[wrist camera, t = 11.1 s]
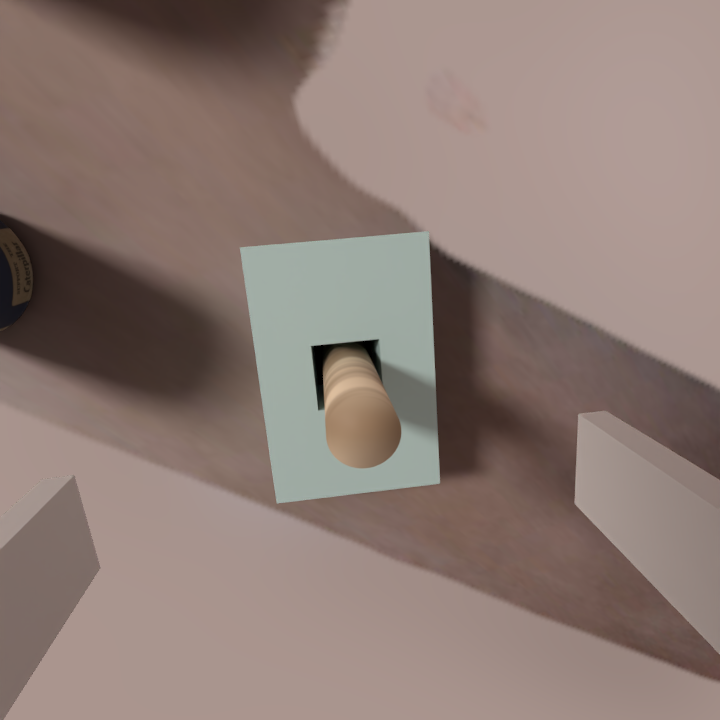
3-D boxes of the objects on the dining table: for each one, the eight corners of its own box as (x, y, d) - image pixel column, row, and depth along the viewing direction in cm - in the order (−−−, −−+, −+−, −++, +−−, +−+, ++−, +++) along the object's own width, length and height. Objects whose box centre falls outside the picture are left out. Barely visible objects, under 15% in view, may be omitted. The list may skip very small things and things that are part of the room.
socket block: (252, 246, 35) (239, 247, 29) (410, 233, 36) (428, 231, 30) (282, 465, 39) (276, 503, 34) (422, 448, 40) (440, 483, 34)
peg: (319, 335, 37) (322, 402, 21) (364, 331, 37) (398, 393, 22) (324, 378, 38) (329, 472, 22) (368, 374, 38) (403, 464, 23)
